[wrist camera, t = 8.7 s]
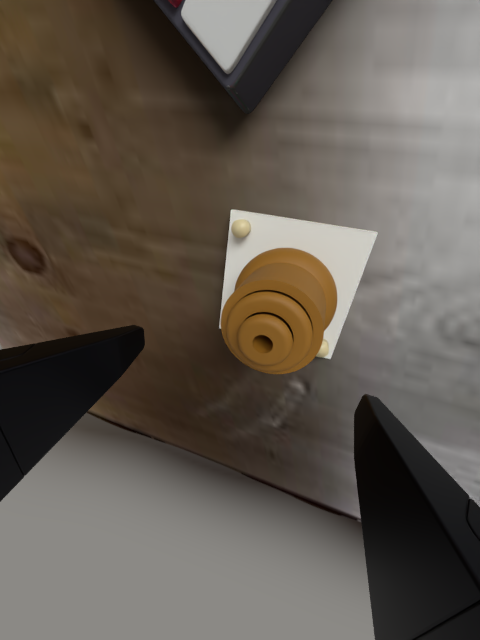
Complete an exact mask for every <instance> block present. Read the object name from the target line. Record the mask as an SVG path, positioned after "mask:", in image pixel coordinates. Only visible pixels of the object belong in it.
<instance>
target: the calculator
mask: <svg viewBox="0 0 480 640" xmlns="http://www.w3.org/2000/svg"><path fill="white" fill-rule="evenodd" d="M154 1H155V3H156V4H157V5H158V6H159V8H160V9H161V10H162V11H163V13H164V14H165V15H166V16H167V18H168V19H169V20H170V21H171V23H172V24H173V25H174V26H175V27H176V29H177V30H178V31H179V32H180V34H181V35H182V36H183V37H184V39H185V40H186V41H187V42H188V44H189V45H190V46H191V47H192V49H193V50H194V51H195V52H196V54H197V55H198V56H199V57H200V59H201V60H202V61H203V62H204V64H205V65H206V66H207V67H208V69H209V70H210V71H211V72H212V74H213V75H214V76H215V77H216V79H217V80H218V81H219V82H220V84H221V85H222V86H223V87H224V88H225V90H226V91H227V92H228V93H229V95H230V96H231V97H232V98H233V100H234V101H235V102H236V103H237V105H238V106H239V107H240V108H241V109H242V111H243V112H244V113H247V114H248V113H251V112H252V111H253V110H254V108H255V107H256V106H257V104H258V103H259V102H260V100H261V99H262V97H263V96H264V95H265V93H266V92H267V90H268V89H269V88H270V86H271V85H272V84H273V82H274V81H275V79H276V78H277V77H278V75H279V74H280V72H281V71H282V70H283V68H284V67H285V65H286V64H287V63H288V61H289V60H290V58H291V57H292V56H293V54H294V53H295V52H296V50H297V49H298V47H299V46H300V45H301V43H302V42H303V40H304V39H305V38H306V36H307V35H308V33H309V32H310V31H311V29H312V28H313V26H314V25H315V24H316V22H317V21H318V19H319V18H320V17H321V15H322V14H323V13H324V11H325V10H326V8H327V7H328V6H329V4H330V3H331V1H332V0H154Z"/></svg>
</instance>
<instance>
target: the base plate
mask: <svg viewBox="0 0 480 640" xmlns="http://www.w3.org/2000/svg"><path fill="white" fill-rule="evenodd" d="M377 234H378V232H375V231H369V230H362V229H356V228H350V227H343V226H337V225H330V224H324V223H318V222H311V221H305V220H298V219H292V218H286V217H279V216H273V215H266V214H260V213H254V212H247V211H241V210H231V216H230V226H229V236H228V245H227V255H226V265H225V275H224V285H223V294H222V304H221V314H222V310H223V307H224V305H225V303H226V301H227V300H228V298H229V297H230V296H231V295H232V294H233V292H234V290H235V285H236V281H237V279H238V277H239V275H240V273H241V271H242V270H243V268H244V267H245V266H246V265H247V264H248V262H250V261H251V260H252V259H253V258H254V257H256V256H257V255H259V254H261V253H263V252H265V251H268V250H272V249H276V248H295V249H299V250H302V251H305V252H307V253H309V254H311V255H313V256H315V257H316V258H317V259H319V260H320V261H321V262H322V263H323V264H324V265H325V266H326V267H327V269H328V270H329V271H330V273H331V275H332V277H333V279H334V281H335V284H336V288H337V308H336V312H335V315H334V317H333V319H332V321H331V323H330V325H329V326H328V327H327V329H326V330H325V331H324V336H323V342H322V345H321V348H320V350H319V352H318V353H317V355H316V356H317V357H324V358H328V359H331V356H332V354H333V351H334V348H335V346H336V343H337V340H338V338H339V335H340V332H341V330H342V327H343V324H344V322H345V319H346V316H347V314H348V311H349V308H350V306H351V303H352V300H353V298H354V295H355V292H356V290H357V287H358V284H359V282H360V279H361V276H362V274H363V271H364V268H365V266H366V263H367V260H368V258H369V255H370V252H371V250H372V247H373V244H374V242H375V239H376V236H377ZM221 314H220V324H219V328H220V329H221Z"/></svg>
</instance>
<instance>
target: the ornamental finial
mask: <svg viewBox="0 0 480 640" xmlns="http://www.w3.org/2000/svg"><path fill="white" fill-rule="evenodd" d="M336 308H337V288H336V284H335V281H334V279H333V277H332V275H331V273H330V271H329V270H328V269H327V267H326V266H325V265H324V264H323V263H322V262H321V261H320V260H319V259H317V258H316V257H315V256H313V255H311V254H309V253H307V252H305V251H302V250H299V249H295V248H276V249H272V250H268V251H265V252H263V253H261V254H259V255H257V256H256V257H254V258H253V259H252V260H251V261H250V262H248V264H247V265H246V266H245V267H244V268H243V270H242V271H241V273H240V275H239V277H238V279H237V281H236V285H235V290H234V292H233V294H232V295H231V296H230V297H229V298H228V300H227V301H226V303H225V305H224V307H223V310H222V314H221V330H222V335H223V338H224V340H225V343H226V344H227V346H228V348H229V349H230V351H231V352H232V353H233V354H234V356H235V357H236V358H238V359H239V360H240V361H241V362H242V363H244V364H245V365H247V366H249V367H251V368H253V369H255V370H257V371H260V372H264V373H269V374H285V373H290V372H294V371H296V370H299V369H301V368H303V367H304V366H306V365H307V364H308V363H310V362H311V361H312V360H313V359H314V357H315V356H316V355H317V353H318V352H319V350H320V348H321V345H322V342H323V336H324V331H325V330H326V329H327V327H328V326H329V325H330V323H331V321H332V319H333V317H334V315H335V312H336Z"/></svg>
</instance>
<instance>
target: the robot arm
mask: <svg viewBox="0 0 480 640" xmlns="http://www.w3.org/2000/svg"><path fill="white" fill-rule="evenodd" d="M144 345H145V340H144V329H143V328H142V327H139V326H136V325H131V326H126V327H120V328H115V329H110V330H104V331H99V332H94V333H88V334H83V335H78V336H72V337H67V338H62V339H56V340H51V341H46V342H40V343H37V344H29V345H24V346H18V347H13V348H7V349H1V350H0V501H1V500H2V499H3V498H4V497H5V496H6V495H7V494H8V493H9V492H10V491H11V490H12V489H13V488H14V487H15V486H16V485H17V484H18V483H19V482H20V481H21V480H22V479H23V477H24V476H25V475H26V474H27V473H28V472H29V471H30V470H31V469H32V468H33V467H34V466H35V465H36V464H37V463H38V462H39V461H40V460H41V459H42V458H43V457H44V456H45V455H46V454H47V453H48V451H49V450H50V449H51V448H52V447H53V446H54V445H55V444H56V443H57V442H58V441H59V440H60V439H61V438H62V437H63V436H64V435H65V434H66V433H67V432H68V431H69V430H70V428H72V427H73V426H74V425H75V423H77V421H78V420H79V419H80V418H81V417H82V416H83V415H84V414H85V413H86V412H87V411H88V410H89V409H90V408H91V407H92V406H93V405H94V404H95V403H96V402H97V401H98V400H99V399H100V398H101V397H102V396H103V395H104V394H105V393H106V392H107V390H108V389H109V388H110V387H111V386H112V385H113V384H114V383H115V382H116V381H117V380H118V379H119V378H120V377H121V376H122V375H123V373H124V372H125V371H126V370H127V369H128V367H129V366H130V365H131V363H132V362H133V361H134V360H135V358H136V357H137V356H138V355H139V353H140V352H141V351H142V350H143V348H144ZM354 461H355V471H356V479H357V488H358V497H359V505H360V514H361V522H362V530H363V539H364V548H365V557H366V566H367V574H368V583H369V592H370V600H371V609H372V618H373V626H374V635H375V640H480V507H479V506H478V505H477V504H476V503H475V502H474V501H473V500H472V499H469V495H468V494H467V493H466V492H465V491H464V490H463V489H462V488H461V487H460V486H459V485H458V483H457V482H456V481H455V480H454V479H453V478H452V477H451V476H450V475H449V474H448V473H447V472H446V471H445V469H444V468H443V467H442V466H441V465H440V464H439V463H438V462H437V461H436V460H435V459H434V458H433V457H432V455H431V454H430V453H429V452H428V451H427V450H426V449H425V448H424V447H423V446H422V445H421V444H420V443H419V441H418V440H417V439H416V438H415V437H414V436H413V435H412V434H411V433H410V432H409V431H408V430H407V429H406V428H405V426H404V425H403V424H402V423H401V422H400V421H399V420H398V419H397V418H396V417H395V416H394V415H393V414H392V412H391V411H390V410H389V409H388V408H387V407H386V406H385V405H384V404H383V403H382V402H381V401H380V400H379V399H378V398H377V397H374V396H371V395H368V394H365V395H363V397H362V399H361V401H360V403H359V405H358V407H357V409H356V411H355V415H354Z"/></svg>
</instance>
